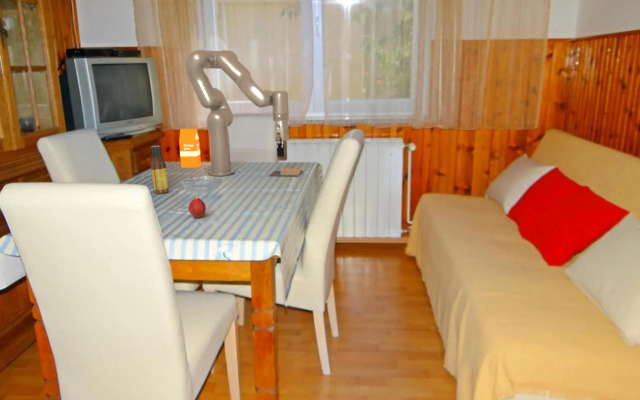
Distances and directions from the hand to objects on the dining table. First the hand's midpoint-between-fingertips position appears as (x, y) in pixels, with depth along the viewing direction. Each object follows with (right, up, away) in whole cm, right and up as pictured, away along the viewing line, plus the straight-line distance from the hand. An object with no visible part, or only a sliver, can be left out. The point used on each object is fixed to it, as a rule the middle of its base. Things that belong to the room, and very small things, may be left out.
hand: (281, 155), depth 251 cm
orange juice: (-51, -4, +29) cm, 59 cm away
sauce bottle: (-49, -19, -31) cm, 61 cm away
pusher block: (0, -2, +1) cm, 2 cm away
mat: (+2, -10, +1) cm, 10 cm away
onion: (-24, -28, -69) cm, 79 cm away
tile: (0, -8, +2) cm, 8 cm away
